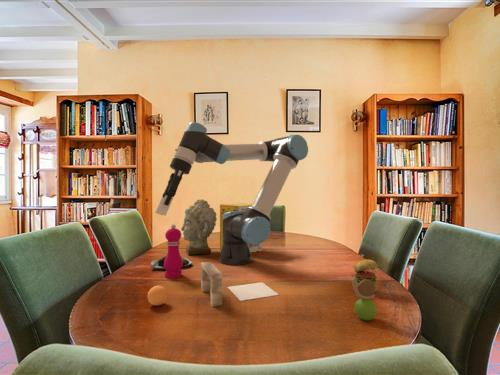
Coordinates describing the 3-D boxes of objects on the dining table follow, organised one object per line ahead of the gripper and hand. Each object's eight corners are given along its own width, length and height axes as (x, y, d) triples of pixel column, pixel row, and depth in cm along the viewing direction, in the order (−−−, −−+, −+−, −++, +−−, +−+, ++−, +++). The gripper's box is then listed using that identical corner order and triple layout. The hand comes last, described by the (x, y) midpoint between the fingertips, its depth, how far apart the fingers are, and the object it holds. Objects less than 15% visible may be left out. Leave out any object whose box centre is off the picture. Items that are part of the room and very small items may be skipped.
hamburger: (366, 296, 92) (366, 258, 92) (349, 289, 99) (349, 253, 99) (383, 292, 96) (383, 255, 96) (365, 286, 102) (365, 251, 102)
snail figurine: (347, 315, 79) (347, 270, 79) (370, 314, 79) (370, 270, 79) (356, 324, 73) (356, 276, 73) (380, 323, 74) (380, 276, 74)
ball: (166, 300, 89) (166, 282, 89) (168, 306, 84) (168, 287, 84) (147, 302, 87) (147, 284, 87) (148, 309, 82) (148, 290, 82)
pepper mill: (177, 279, 110) (177, 225, 110) (160, 278, 111) (160, 225, 111) (185, 273, 117) (185, 223, 117) (169, 272, 118) (169, 223, 118)
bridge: (209, 289, 99) (209, 261, 99) (222, 305, 86) (222, 273, 86) (201, 290, 98) (201, 262, 98) (212, 306, 85) (212, 274, 85)
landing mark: (262, 282, 106) (262, 282, 106) (278, 295, 93) (278, 294, 93) (227, 287, 101) (227, 286, 101) (240, 301, 89) (240, 300, 89)
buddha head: (179, 250, 160) (179, 199, 160) (213, 248, 166) (213, 198, 166) (182, 257, 144) (182, 200, 144) (219, 254, 150) (219, 199, 150)
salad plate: (145, 262, 136) (145, 252, 136) (184, 258, 143) (184, 249, 143) (151, 273, 118) (151, 262, 118) (195, 268, 126) (195, 257, 126)
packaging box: (238, 255, 148) (238, 205, 148) (219, 250, 160) (219, 204, 160) (261, 250, 159) (261, 204, 159) (242, 246, 171) (242, 203, 171)
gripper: (169, 162, 120) (148, 210, 116) (178, 150, 97) (151, 210, 93) (186, 169, 123) (166, 217, 118) (198, 159, 100) (174, 218, 95)
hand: (160, 214), depth 106 cm, fingers open, 13 cm apart
